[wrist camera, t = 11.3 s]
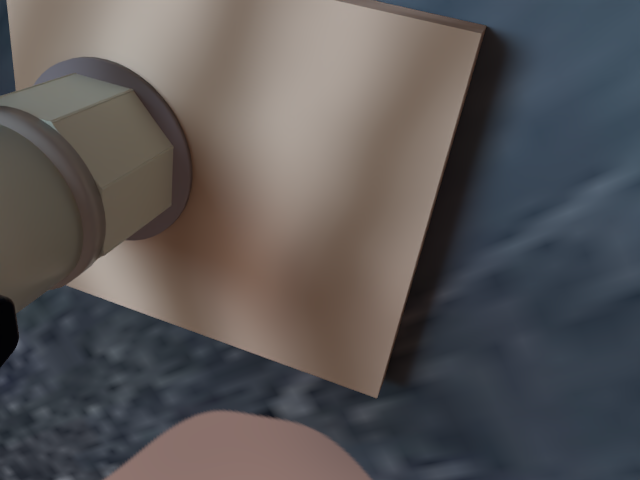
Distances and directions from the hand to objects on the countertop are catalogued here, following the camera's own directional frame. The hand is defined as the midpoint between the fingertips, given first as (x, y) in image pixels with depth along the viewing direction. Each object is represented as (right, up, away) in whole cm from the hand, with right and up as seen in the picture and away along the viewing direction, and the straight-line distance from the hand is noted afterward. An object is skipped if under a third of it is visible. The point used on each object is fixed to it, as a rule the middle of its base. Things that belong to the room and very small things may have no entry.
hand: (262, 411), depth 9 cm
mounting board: (-3, +5, +14) cm, 15 cm away
